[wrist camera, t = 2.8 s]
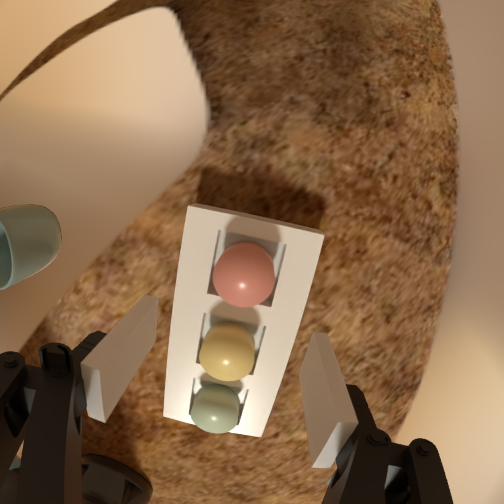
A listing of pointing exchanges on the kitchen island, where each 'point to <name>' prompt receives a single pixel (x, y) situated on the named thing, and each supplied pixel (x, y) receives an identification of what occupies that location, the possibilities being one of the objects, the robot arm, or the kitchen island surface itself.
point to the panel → (237, 309)
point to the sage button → (215, 408)
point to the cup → (26, 242)
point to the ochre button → (228, 351)
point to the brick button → (244, 274)
